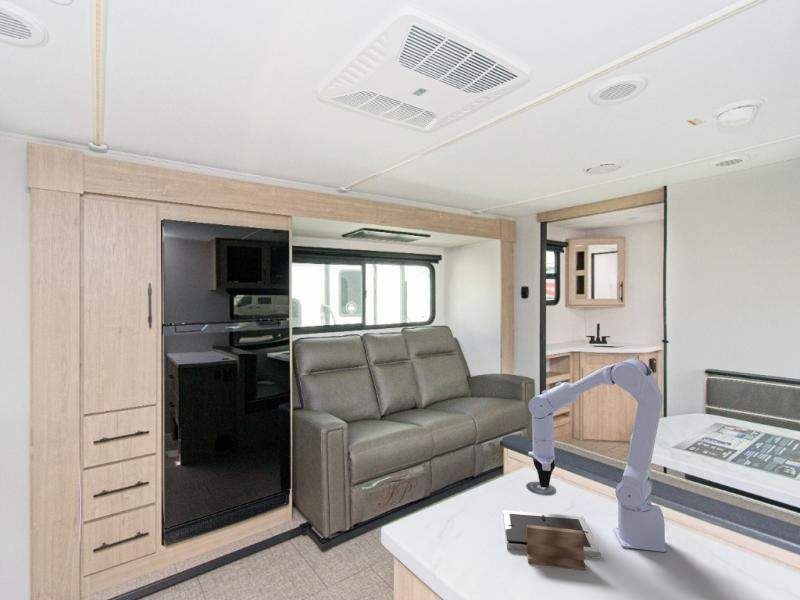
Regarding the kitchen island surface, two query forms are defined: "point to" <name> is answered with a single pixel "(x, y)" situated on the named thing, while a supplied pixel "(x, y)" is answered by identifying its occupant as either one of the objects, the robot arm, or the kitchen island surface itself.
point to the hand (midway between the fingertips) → (544, 486)
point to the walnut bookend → (555, 547)
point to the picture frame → (519, 521)
